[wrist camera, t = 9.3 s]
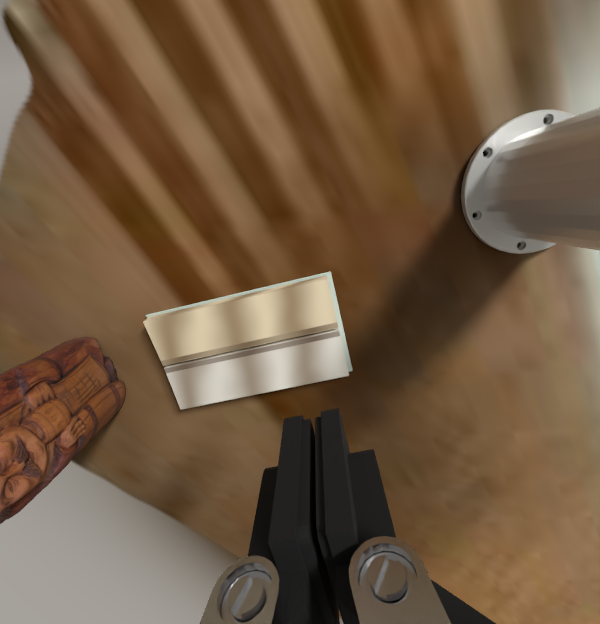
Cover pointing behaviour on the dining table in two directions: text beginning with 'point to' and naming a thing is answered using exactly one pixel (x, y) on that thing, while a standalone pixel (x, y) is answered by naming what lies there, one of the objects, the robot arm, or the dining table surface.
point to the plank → (243, 321)
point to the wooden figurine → (52, 416)
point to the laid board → (258, 369)
